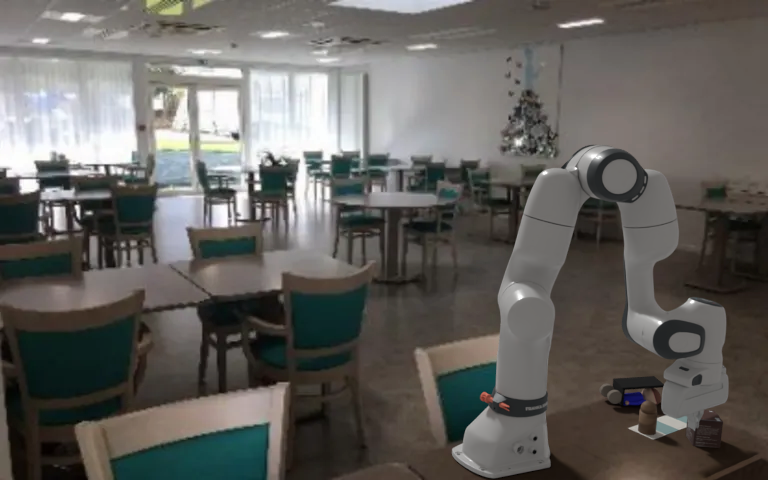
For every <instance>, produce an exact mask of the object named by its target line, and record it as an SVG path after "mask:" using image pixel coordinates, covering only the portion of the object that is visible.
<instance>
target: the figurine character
mask: <svg viewBox="0 0 768 480" xmlns="http://www.w3.org/2000/svg"><path fill="white" fill-rule="evenodd" d="M664 384H665V383H663V382H662V381H661V380H660V379H659V378H657V377H655V375H650V376H649V375H648V376H647V375H646V376H634V377H633V376H632V377H617V378H616V377H615V378H613V379H612V384H610V383H603V384H602V385H600V387H599V393H600V394H601V396H603V397H604V398H606V399H607V400H608V401H609V402H610V403H611V404H614V405H615V404H618V405H620V406H622V407H623V406H641V404H642V403H643V402H644V401H652V402H654V403H655V405H656V406H658V405H659V404H660V403H661V402H662V394H661V393H660V391H658V388H659V389H660V388H663V386H664ZM627 390H629V391H630V390H642V391H637V392H636V391H635V392H626V391H627Z"/></svg>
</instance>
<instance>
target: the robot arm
mask: <svg viewBox="0 0 768 480" xmlns="http://www.w3.org/2000/svg"><path fill="white" fill-rule="evenodd" d="M590 198H593V199H597V200H602V201H606V202H609V203H616V204H617V206H618V210H619V212H620V220H621V221H620V222H621V227H622V233H623V245H624V247H623V254H622V257H623V259H622V264H623V265H622V266H623V279H624V280H623V281H624V282H623V283H624V293H625V294H624V296H625V297H624V298H625V302H624V303H625V304H624V309H623V313H622V318H621V329H622V332H623V334H624V336H625V337H626V339H627V340H629V341H630V342H631V343H633V344H636V345H638V346H639V347H643V348H644V349H646V350H648V351H649V352H651V353H654V355H657V356H658V357H660V358H663V359H664V360H665V359H666V360H675V361H674V362H673V363H672V364H670V365H669V366H668V367H666V368H665V370H664V371H663V379H664V380H666V381H665V382H664V383H663V384H664V386H663V387H662V393H661V405H660V406H661V412H662V413H663V414H664V416H665V415H667V416H670V417H672V418H675V419H678V418H681V417H684V416H687V418H688V427H689V428H691V429H696V428H698V427H699V421H700V419H701V417H702V415H703V414H704V410H708V409H711V408H714V407H717V406H719V405H723V404H725V403H726V402H727V400H728V397H729V386H730V385H729V376H728V374H727V368H726V366H725V365H724V364H723V360H724V359H723V358H724V356H723V352H722V351H723V347H724V346H725V345H724V344H725V342H726V333H727V315H726V309H725V308H724V306H723V305H722V304H720V303H718V302H716V301H715V300H714V301H713V300H710V299H707V298H704V297H697V296H692V297H689V298H688V299H687V300H686V301H685V302H684V303H682V304H681V305H679V306H678V307H675V308H674V309H671V310H668V311H667V310H664V309H663V308H661V307H660V305H659V304H658V302H657V301H656V298H655V289H654V288H655V287H654V266H655V265H656V263H657V262H659V261H662V260H665V259H667V258H668V257H669V256H671V255H672V254H673V253H674V251H675V250H676V249H677V247H678V245H679V241H680V239H679V238H680V237H679V236H680V229H679V221H678V220H679V219H678V213H677V208H676V204H675V200H674V196H673V192H672V189H671V186H670V184H669V181H668V178H667V177H666V176H665V174H664V173H662V171H659V170H655V169H650V168H645V169H644V168H643V166H642V165H641V163H640V162H639V161H638V159H637V158H636V157H635V156H633V154H631V153H630V152H629V151H626V150H624V149H622V148H616V147H614V146H613V145H612V146H611V145H607V144H588V145H585V146H583V147H581V148H578V149H577V150H576V151H575V152H574V153H573V154H572V155H571V156H570V157H569V158H568V160H567V161H565V163H564V164H563V165H562V166H561V167H552V168H547V169H544V170H542V171H541V172H540V173H539V174H538V175H537V177H536V179H535V181H534V183H533V186H532V188H531V190H530V193H529V194H528V197H527V200H526V203H525V206H524V210H523V214H522V217H521V220H520V224H519V227H518V231H517V236H516V238H515V243H514V247H513V250H512V253H511V255H510V258H509V260H508V263H507V266H506V268H505V272H504V274H503V278H502V280H501V284H500V287H499V290H498V293H497V304H498V309H499V312H500V314H499V315H500V324H499V325H500V327H499V336H498V337H499V338H498V347H497V353H496V368H495V369H496V372H495V373H496V374H495V386H494V388H492V389H493V390H492V393H491V394H489V393H487V392H486V391H483V392H482V393H481V394H480V395H479V400H480V401H482V402H485V403H486V404H488V406H486V408H484V410H483V411H482V412H481V413H479V415H478V416H477V417H475V419H474V420H473V421H472V422H471V423H470V424H468V426H466V428H465V431H464V434H463V441H462V443H460V444H458V445H456V446H454V447H452V448H451V454H452V455H451V456H452V457H453V458H454V460H455V461H456V462H458V463H459V464H460V465H461V466H462V467H464V468H466V469H467V470H469V471H471V472H472V473H474V474H476V475H478V476H479V475H480V476H482V477H485V478H489V479H498V478H502V477H503V478H504V477H508V476H513V475H517V474H523V473H528V472H532V471H538V470H544V469H549V468H550V467H551V463H552V462H551V459H550V456H551V449H550V447H549V440H548V439H549V437H548V436H549V435H548V426H547V417H546V412H547V410H548V404H549V392H548V391H547V383H548V367H549V365H548V364H549V357H550V350H551V346H552V340H553V333H554V325H555V319H556V307H555V305H554V302H553V301H552V298H551V293H552V290H553V287H554V285H555V282H556V280H557V278H558V275H559V273H560V271H561V269H562V267H563V266H564V264H565V262H566V259H567V254H568V253H569V252H568V251H569V249H570V244H571V241H572V238H573V233H574V230H575V226H576V223H577V219H578V216H579V215H578V214H579V212H580V210H581V208H582V206H583V204H584V203H585V202H586V201H587V200H588V199H590Z"/></svg>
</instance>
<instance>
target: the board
mask: <svg viewBox="0 0 768 480" xmlns="http://www.w3.org/2000/svg"><path fill="white" fill-rule="evenodd" d="M686 427H687V416H684V417H681V418H678V419H675V418H672V417H670V416H667V415H665V414H664V415H661V416H659V417H657V426H656V434H654V435H645V434H642V433H640V432H639V431H638V424H636V425H633V426H630V427H627V429H629V430H631V431H633V432H635V433H638V434H639V435H642V436H644V437H646V438H648V439H650V440H656V439H660V438H662V437H664V436H666V435H669V434H672V433H675V432H677V431H680V430H683V429H686Z"/></svg>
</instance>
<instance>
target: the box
mask: <svg viewBox="0 0 768 480" xmlns="http://www.w3.org/2000/svg"><path fill="white" fill-rule="evenodd" d="M723 426H724V421H723V419H722V418H721V417H720V414H717V413H716V411H715V410H710V409H709V410H708V409H705V410H704V414H703V415H702V417H701V419H700V421H699V427H698V428H696V429H691V428H689V427H688V418H687V427H686V428H685V429H686V430H685V437H687V439H688V441H689V442H690V444H691V445H692V446H693V447H702V448H703V447H704V448H715V449H720V448H721V443H722V442H721V441H722V434H723Z"/></svg>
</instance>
